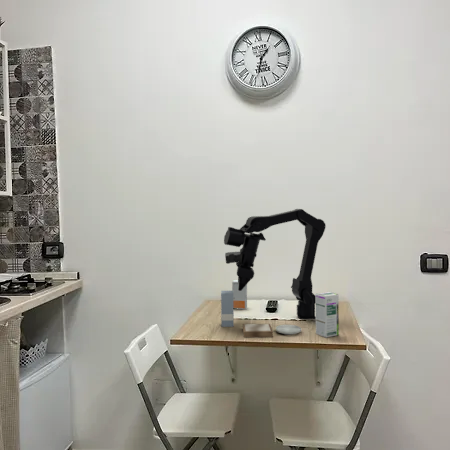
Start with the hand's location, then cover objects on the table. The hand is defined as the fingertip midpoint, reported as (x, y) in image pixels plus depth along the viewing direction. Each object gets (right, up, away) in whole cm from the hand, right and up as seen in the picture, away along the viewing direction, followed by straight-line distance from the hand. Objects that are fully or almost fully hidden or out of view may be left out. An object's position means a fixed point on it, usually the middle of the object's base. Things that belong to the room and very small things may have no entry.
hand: (239, 286), depth 187 cm
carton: (-5, -14, -6) cm, 15 cm away
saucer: (+17, -14, -17) cm, 28 cm away
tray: (+6, -14, -17) cm, 23 cm away
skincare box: (+1, -12, +20) cm, 24 cm away
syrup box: (+30, -15, -19) cm, 38 cm away
